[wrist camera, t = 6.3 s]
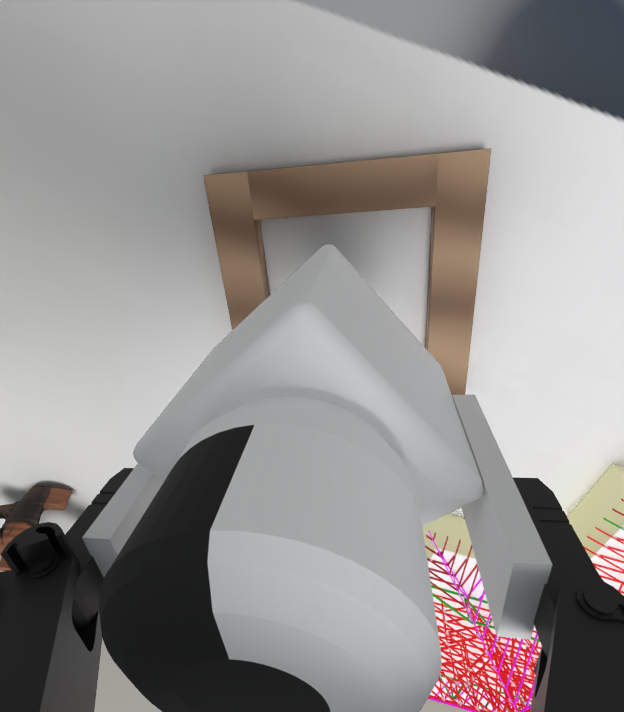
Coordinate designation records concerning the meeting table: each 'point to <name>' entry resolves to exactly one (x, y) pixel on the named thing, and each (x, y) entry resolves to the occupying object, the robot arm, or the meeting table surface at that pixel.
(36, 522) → the pottery mug
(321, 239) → the meeting table surface
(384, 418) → the medicine bottle
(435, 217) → the brown square frame
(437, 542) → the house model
